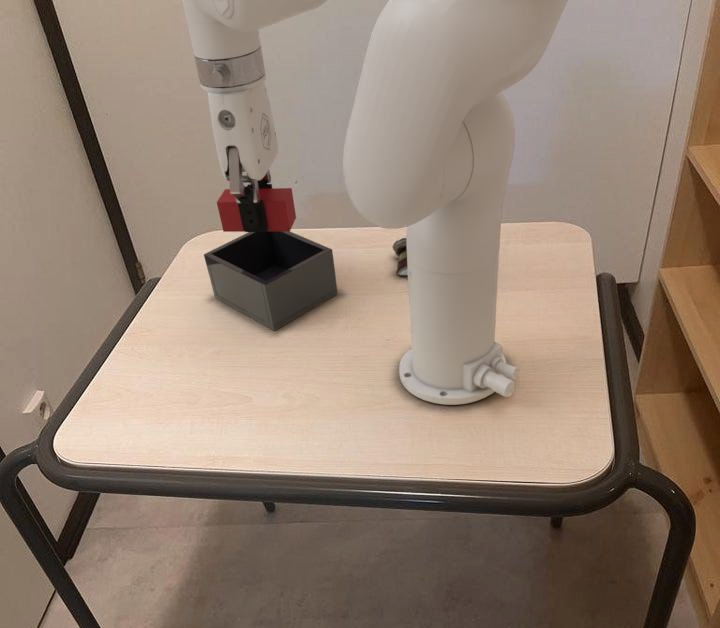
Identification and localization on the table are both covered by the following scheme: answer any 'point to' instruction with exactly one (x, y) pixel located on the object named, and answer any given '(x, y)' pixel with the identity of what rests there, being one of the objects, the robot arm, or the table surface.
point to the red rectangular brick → (275, 206)
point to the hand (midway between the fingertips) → (260, 221)
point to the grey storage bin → (272, 276)
